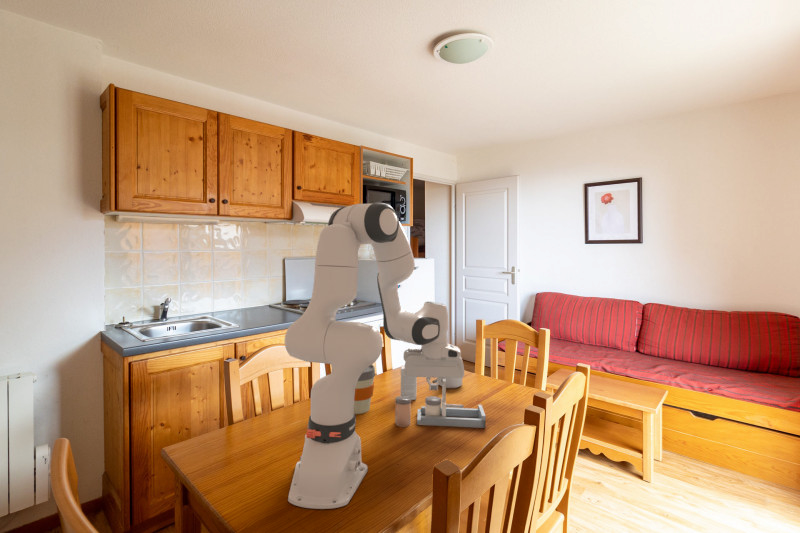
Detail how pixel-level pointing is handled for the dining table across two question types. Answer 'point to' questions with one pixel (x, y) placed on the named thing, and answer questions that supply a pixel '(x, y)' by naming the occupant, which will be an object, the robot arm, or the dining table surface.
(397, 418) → the pink spice shaker
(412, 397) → the skincare box
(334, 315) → the robot arm
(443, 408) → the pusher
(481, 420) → the blue-grey tray
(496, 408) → the dining table surface
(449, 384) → the saucepan
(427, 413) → the cream jar
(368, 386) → the reusable coffee cup
